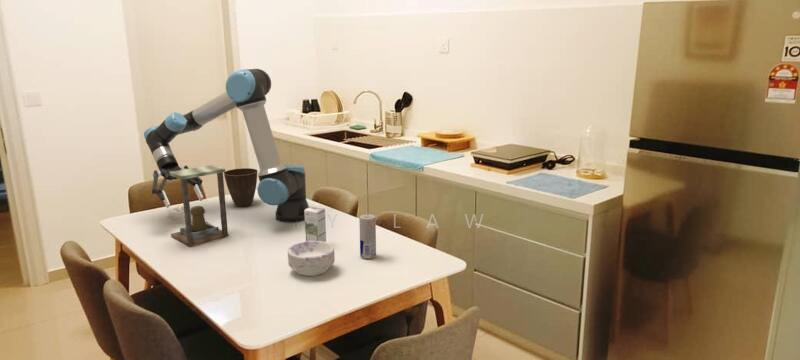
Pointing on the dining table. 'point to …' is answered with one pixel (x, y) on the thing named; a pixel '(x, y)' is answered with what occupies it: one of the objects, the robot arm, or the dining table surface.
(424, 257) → the dining table surface
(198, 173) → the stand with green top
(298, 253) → the paper bowls
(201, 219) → the cork
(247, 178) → the plant pot
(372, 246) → the beverage can
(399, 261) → the dining table surface
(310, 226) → the syrup box
